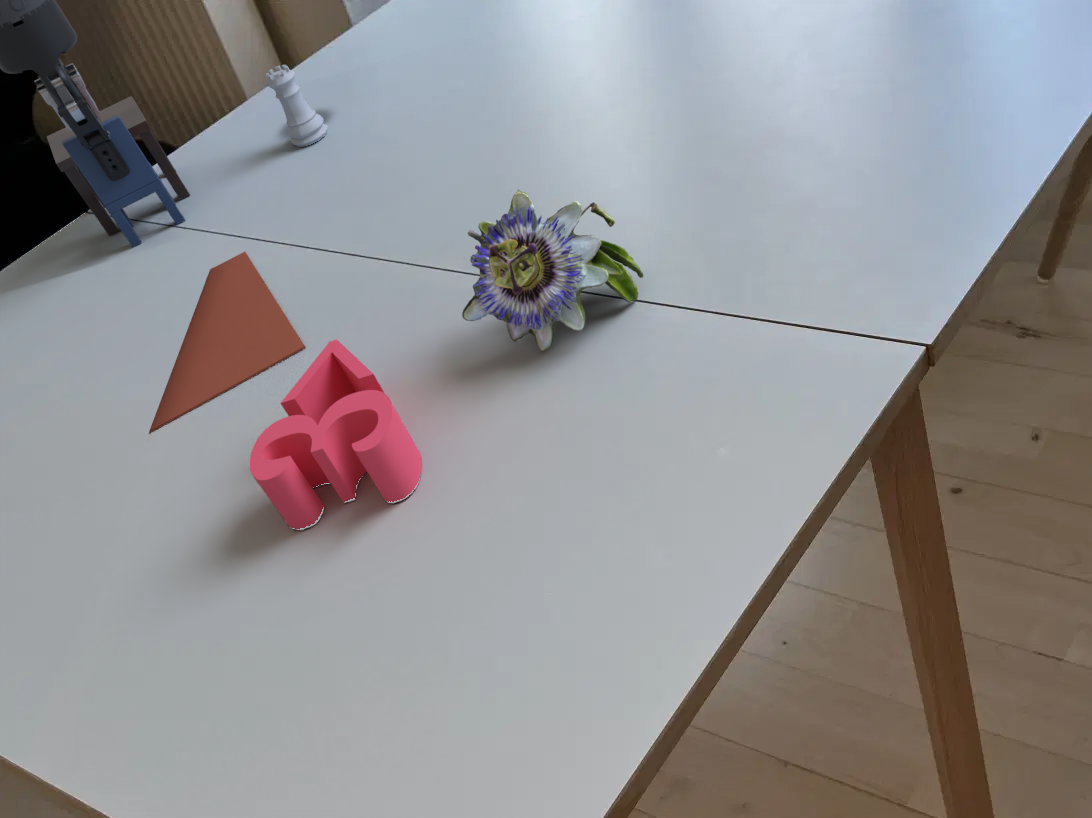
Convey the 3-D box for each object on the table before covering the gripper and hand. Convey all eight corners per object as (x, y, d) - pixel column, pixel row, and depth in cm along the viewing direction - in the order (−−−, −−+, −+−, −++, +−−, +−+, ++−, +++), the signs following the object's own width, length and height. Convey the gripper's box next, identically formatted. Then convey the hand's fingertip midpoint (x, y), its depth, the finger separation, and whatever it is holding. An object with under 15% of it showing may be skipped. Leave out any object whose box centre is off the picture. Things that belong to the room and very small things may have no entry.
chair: (124, 227, 120) (55, 127, 112) (174, 202, 121) (110, 101, 113) (132, 247, 116) (62, 144, 108) (185, 220, 117) (119, 117, 109)
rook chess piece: (325, 142, 122) (290, 74, 116) (288, 152, 123) (252, 84, 117) (333, 123, 125) (300, 56, 120) (297, 133, 126) (263, 67, 120)
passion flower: (571, 397, 86) (438, 335, 80) (566, 298, 93) (443, 232, 86) (666, 314, 80) (529, 239, 73) (654, 214, 86) (528, 135, 79)
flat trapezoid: (112, 322, 105) (110, 320, 105) (245, 252, 108) (244, 251, 107) (150, 432, 89) (149, 431, 89) (306, 347, 92) (304, 346, 92)
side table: (95, 207, 127) (46, 136, 120) (175, 167, 129) (131, 95, 122) (107, 237, 119) (56, 164, 113) (192, 195, 121) (146, 120, 115)
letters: (303, 408, 85) (272, 358, 82) (426, 371, 84) (399, 319, 81) (280, 537, 75) (243, 486, 72) (420, 496, 74) (389, 443, 71)
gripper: (-34, 9, 104) (77, 171, 116) (-26, 41, 95) (94, 213, 106) (41, -24, 106) (143, 138, 118) (56, 3, 96) (166, 178, 108)
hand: (120, 174), depth 112 cm, fingers closed on chair, 1 cm apart
